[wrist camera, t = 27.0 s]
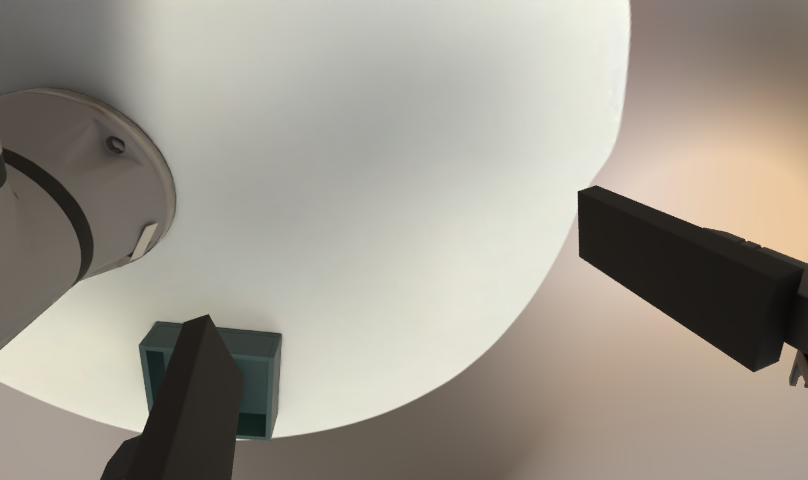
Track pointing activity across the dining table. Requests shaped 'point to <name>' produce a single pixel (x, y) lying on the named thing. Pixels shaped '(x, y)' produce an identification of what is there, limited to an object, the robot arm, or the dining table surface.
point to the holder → (250, 354)
